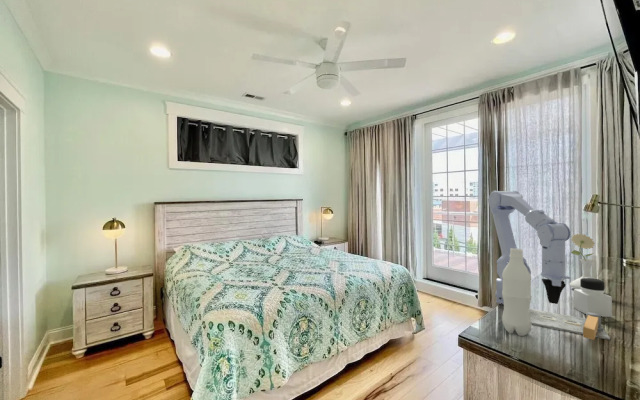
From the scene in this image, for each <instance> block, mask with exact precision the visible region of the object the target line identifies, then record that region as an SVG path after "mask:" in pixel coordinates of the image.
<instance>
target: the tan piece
mask: <svg viewBox="0 0 640 400" xmlns="http://www.w3.org/2000/svg"><path fill="white" fill-rule="evenodd" d="M585 317H586V322H585V324H584V327H583V335H582V337H583V338H586V339H588V340H591V341H592V340H593V341H595V339H596V337H595V336H596V333H597V329H598V327H601V326H602V317H601V315H599V314H597V313H592V312H587V313H586V314H585Z"/></svg>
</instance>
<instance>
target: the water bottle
mask: <svg viewBox="0 0 640 400" xmlns="http://www.w3.org/2000/svg"><path fill="white" fill-rule="evenodd" d="M509 257H510V261H509V263H508V264H507V266H506V267H505V269H504V270H503V273H502V276H503V291H502V296H503V300H504V304H503V312H502V315H501V320H502V324H503V327H504V329H505V330H506V332H507V333H509V334H513V333H514V331H515V333H516V334H517V336H519V337H524V336H526V335H529V334H530V333H531V331H532V324H531V319H530V311H529V309H531V307H530V306H531V301H532V290H531V289H532V287H531V286H532V283H531V282H532V274H531V275H530V273H529V271H528V269H527V268H526V266H525V264H524V262H523V258H524V259H525V256H524V254H523V249H521V248H517V249H516V248H511V249H510V255H509Z"/></svg>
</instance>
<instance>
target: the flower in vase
mask: <svg viewBox="0 0 640 400" xmlns="http://www.w3.org/2000/svg"><path fill="white" fill-rule="evenodd" d="M570 240H571V242H573V244H574V245H575V246H577V247H578V248H579V251H578V250H576V249H574V250H572V251H571V252H570V254H573V255H576V256H582V257H583V258H578V260H579V261H580V262H581V264H582V270H583V273H582V276H581V277H579V278H576V279H574V280H572V281H570V283H569V286H570V287H571V288H572V289H573V290H574V289H581V288H580V279H581V278H593V277H592V274H591V268H592V264H593V263H595V260H594V259H589V258H586V257H589V256H592V255H593V253H589V254H586V255H583V254H582V251H581V250H582V249H586V250H589V249H594V246H595V241H593V238H591V237H590V236H587V235H586V234H582V233H577V234H573V235H572V236H571V239H570ZM581 248H582V249H581ZM605 292H606V289H605V287H604V293H605Z"/></svg>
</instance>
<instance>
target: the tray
mask: <svg viewBox="0 0 640 400" xmlns="http://www.w3.org/2000/svg"><path fill="white" fill-rule="evenodd" d="M529 311H530V319H531V326H538V327H542V328H543V327H544V328H548V329H552V330H553V329H554V330H558V331H562V332H568V333H572V334H577V335H582V336H583V327H584V324H585V322H586V318H585V317H579V316H574V315H569V314H563V313H556V312H551V311H545V310H539V309H533V308H530V309H529ZM595 338H597V339H604V340H608V341H610V340H611V337H610V336H609V334H608V333H607V332H606V331H605V327H604V326H602V325H601V327H598V329H597V333H596V336H595Z"/></svg>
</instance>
